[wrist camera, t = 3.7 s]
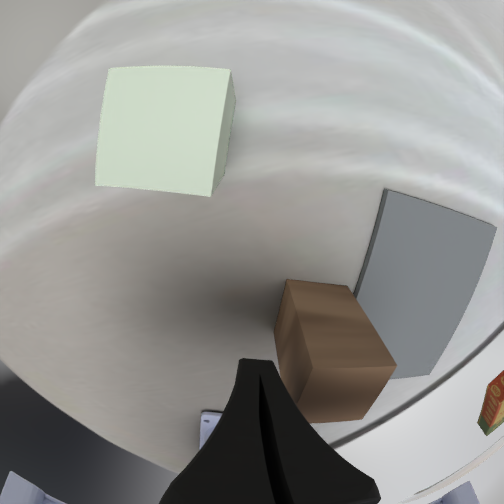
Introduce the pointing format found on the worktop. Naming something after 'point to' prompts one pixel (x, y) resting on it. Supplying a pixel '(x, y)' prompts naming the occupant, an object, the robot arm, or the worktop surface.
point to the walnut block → (329, 352)
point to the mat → (420, 277)
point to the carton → (493, 406)
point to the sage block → (165, 128)
